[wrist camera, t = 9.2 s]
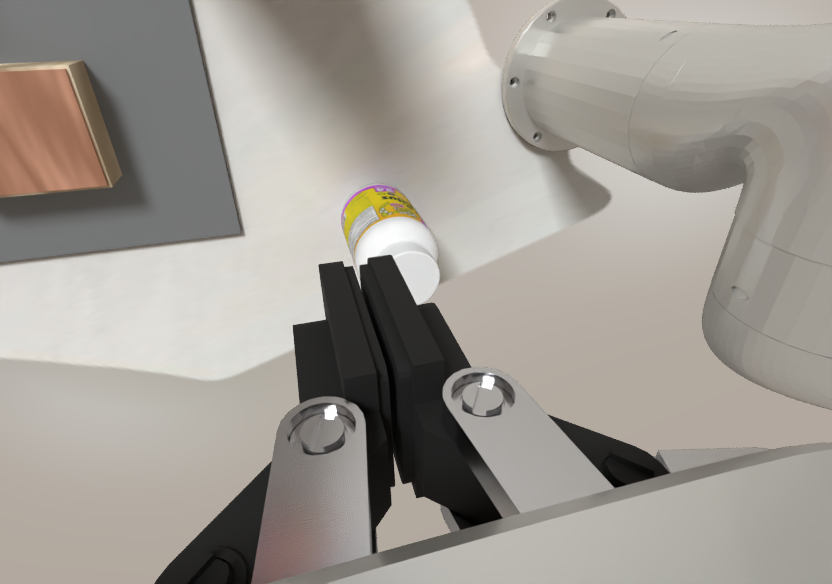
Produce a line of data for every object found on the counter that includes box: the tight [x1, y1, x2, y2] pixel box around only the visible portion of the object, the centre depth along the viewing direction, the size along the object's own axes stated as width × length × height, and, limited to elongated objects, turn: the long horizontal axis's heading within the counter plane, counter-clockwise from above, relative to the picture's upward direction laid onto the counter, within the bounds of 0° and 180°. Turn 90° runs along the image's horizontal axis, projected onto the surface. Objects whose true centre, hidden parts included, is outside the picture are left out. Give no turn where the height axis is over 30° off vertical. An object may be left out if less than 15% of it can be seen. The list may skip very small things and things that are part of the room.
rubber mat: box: [0, 0, 241, 262], centre depth 35 cm, size 20×20×1 cm
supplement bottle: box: [341, 183, 440, 305], centre depth 39 cm, size 7×7×13 cm
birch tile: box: [0, 60, 122, 198], centre depth 32 cm, size 3×8×10 cm
